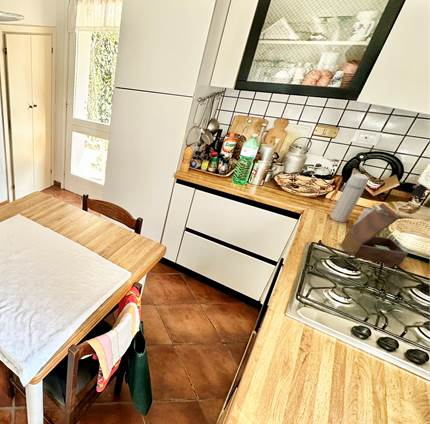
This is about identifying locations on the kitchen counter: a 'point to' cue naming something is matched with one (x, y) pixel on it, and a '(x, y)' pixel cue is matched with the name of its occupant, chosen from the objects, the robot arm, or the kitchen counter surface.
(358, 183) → the water bottle
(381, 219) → the box lid
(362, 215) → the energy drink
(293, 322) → the kitchen counter surface
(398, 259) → the keepsake box
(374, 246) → the block
